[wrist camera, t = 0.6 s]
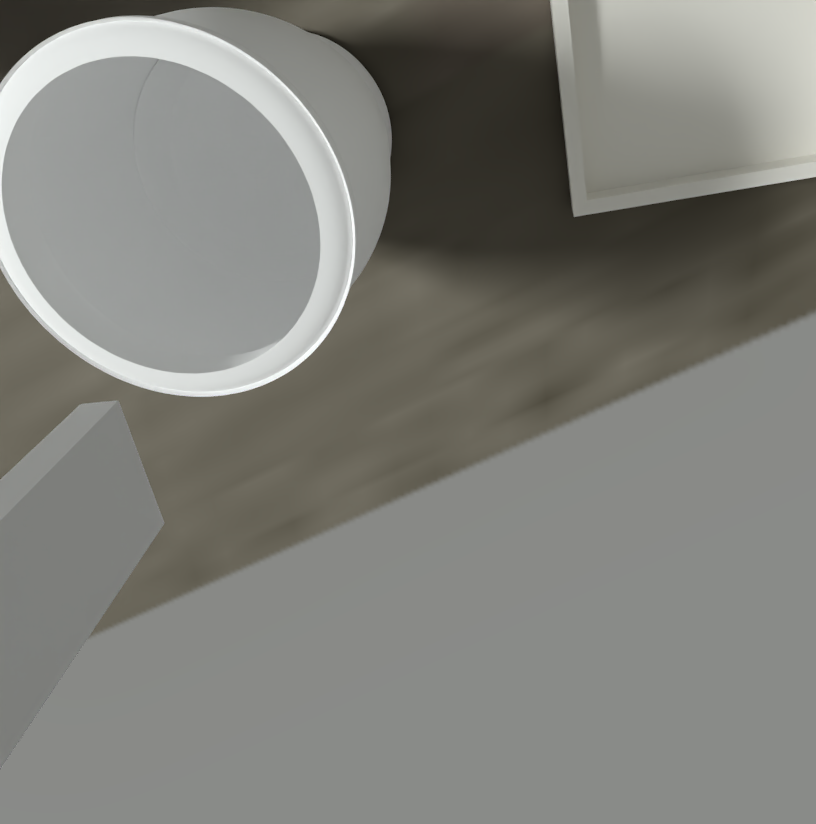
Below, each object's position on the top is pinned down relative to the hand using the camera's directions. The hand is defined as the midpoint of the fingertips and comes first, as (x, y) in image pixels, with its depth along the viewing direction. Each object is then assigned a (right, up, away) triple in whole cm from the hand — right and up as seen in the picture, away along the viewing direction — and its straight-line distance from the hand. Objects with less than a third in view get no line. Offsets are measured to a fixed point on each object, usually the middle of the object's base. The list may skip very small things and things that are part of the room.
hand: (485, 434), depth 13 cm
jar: (-6, +13, +21) cm, 25 cm away
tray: (+10, +15, +17) cm, 25 cm away
